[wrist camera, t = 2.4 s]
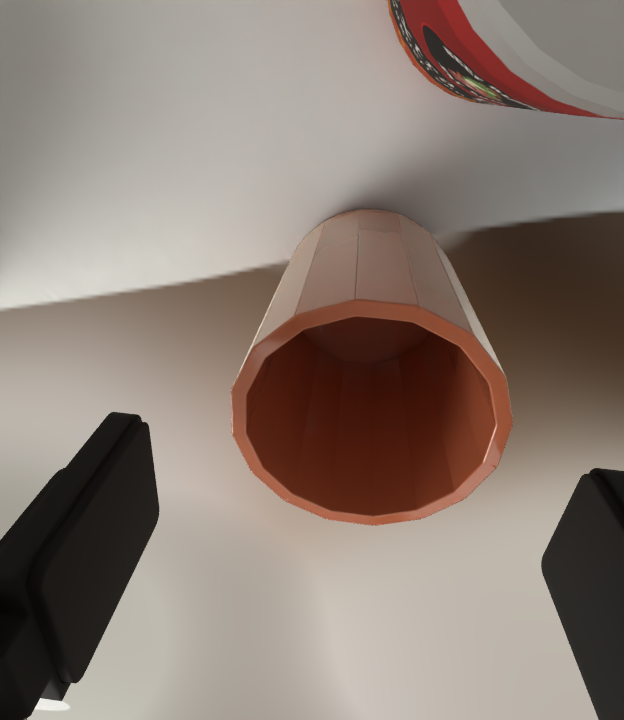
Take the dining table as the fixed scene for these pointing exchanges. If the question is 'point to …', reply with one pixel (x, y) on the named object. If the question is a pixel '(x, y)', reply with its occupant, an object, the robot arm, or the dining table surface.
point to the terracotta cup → (371, 378)
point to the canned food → (520, 51)
